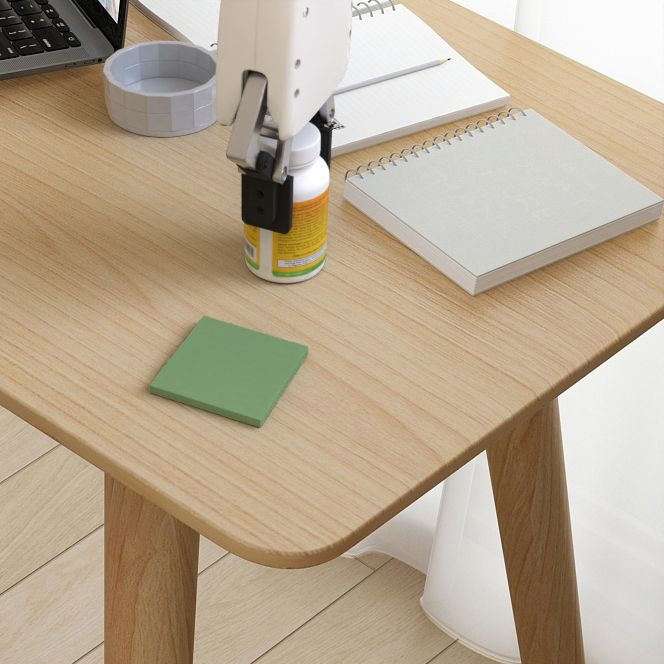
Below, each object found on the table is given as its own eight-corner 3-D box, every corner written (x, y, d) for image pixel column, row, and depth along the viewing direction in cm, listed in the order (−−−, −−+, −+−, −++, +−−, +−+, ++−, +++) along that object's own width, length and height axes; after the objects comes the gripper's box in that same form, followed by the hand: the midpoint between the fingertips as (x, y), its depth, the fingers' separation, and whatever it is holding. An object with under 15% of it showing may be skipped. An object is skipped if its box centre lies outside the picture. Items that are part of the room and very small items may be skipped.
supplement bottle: (339, 252, 80) (347, 125, 74) (301, 295, 77) (306, 165, 70) (269, 228, 82) (271, 102, 76) (228, 269, 78) (227, 140, 72)
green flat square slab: (149, 392, 69) (148, 385, 69) (203, 322, 74) (203, 315, 74) (260, 428, 67) (260, 420, 67) (308, 353, 72) (308, 346, 72)
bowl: (85, 120, 92) (81, 79, 90) (142, 71, 98) (139, 31, 96) (190, 148, 90) (189, 106, 87) (241, 95, 96) (241, 55, 94)
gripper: (292, -139, 72) (285, 126, 83) (156, -36, 59) (171, 259, 71) (410, -117, 70) (387, 151, 82) (296, -6, 57) (287, 292, 69)
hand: (286, 199), depth 76 cm, fingers closed on supplement bottle, 5 cm apart
